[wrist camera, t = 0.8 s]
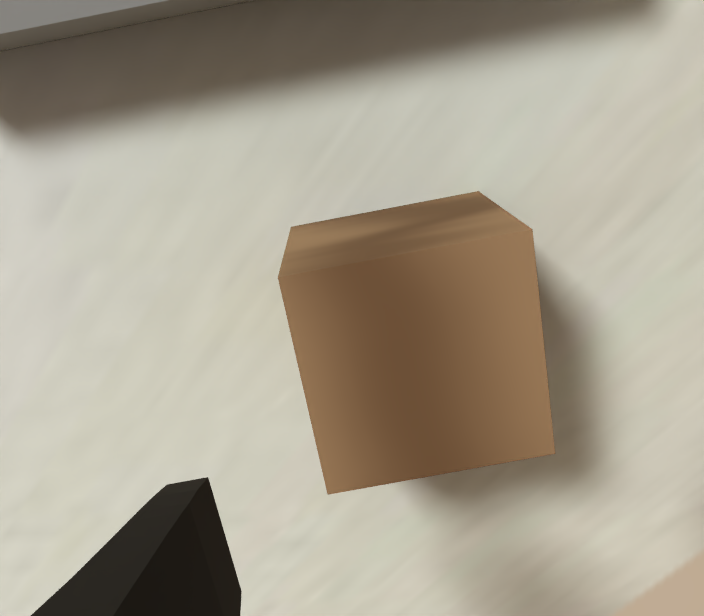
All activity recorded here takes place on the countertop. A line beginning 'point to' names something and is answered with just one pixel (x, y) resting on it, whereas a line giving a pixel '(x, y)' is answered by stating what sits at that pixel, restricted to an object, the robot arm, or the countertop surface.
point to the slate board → (85, 17)
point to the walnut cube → (418, 340)
